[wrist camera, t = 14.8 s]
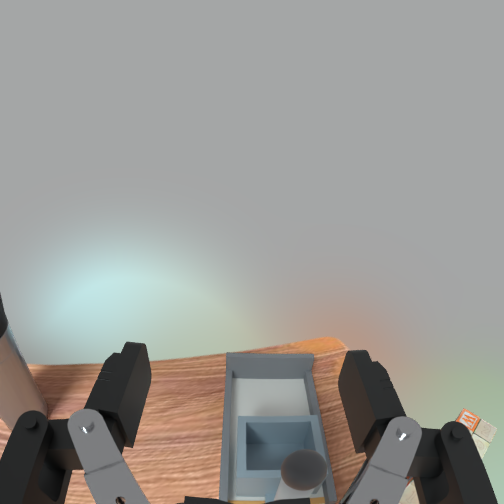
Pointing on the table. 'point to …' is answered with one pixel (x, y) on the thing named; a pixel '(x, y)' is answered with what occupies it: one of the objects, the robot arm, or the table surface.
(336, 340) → the table surface
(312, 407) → the crate bay
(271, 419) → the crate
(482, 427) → the stack of blocks
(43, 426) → the robot arm
